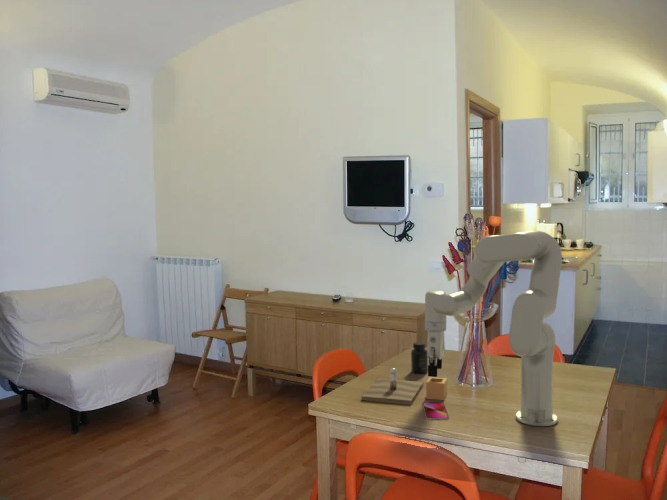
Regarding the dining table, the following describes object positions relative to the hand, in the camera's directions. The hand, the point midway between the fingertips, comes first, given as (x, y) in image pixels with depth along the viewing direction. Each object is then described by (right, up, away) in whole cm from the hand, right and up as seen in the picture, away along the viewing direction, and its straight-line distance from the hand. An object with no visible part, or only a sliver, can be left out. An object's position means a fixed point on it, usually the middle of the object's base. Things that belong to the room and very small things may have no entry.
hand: (434, 372), depth 212 cm
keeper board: (-14, -9, +6) cm, 18 cm away
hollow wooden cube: (+1, -9, 0) cm, 9 cm away
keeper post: (-14, -7, +5) cm, 17 cm away
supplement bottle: (-1, -7, +32) cm, 32 cm away
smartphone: (-2, -11, -14) cm, 18 cm away
